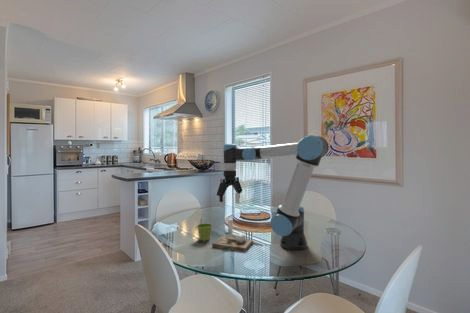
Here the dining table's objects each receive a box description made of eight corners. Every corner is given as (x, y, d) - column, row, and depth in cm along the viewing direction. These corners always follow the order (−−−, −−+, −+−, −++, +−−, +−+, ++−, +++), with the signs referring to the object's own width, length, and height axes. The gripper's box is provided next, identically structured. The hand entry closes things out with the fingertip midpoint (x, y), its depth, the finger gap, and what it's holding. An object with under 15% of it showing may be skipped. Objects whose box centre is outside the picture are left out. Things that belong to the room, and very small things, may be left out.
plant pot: (198, 242, 161) (197, 228, 160) (196, 237, 170) (195, 224, 169) (213, 241, 163) (213, 227, 163) (210, 236, 172) (210, 222, 172)
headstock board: (253, 243, 159) (253, 239, 159) (244, 253, 145) (244, 248, 144) (222, 239, 166) (222, 235, 166) (210, 248, 152) (210, 244, 152)
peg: (247, 240, 157) (247, 221, 157) (241, 243, 153) (241, 224, 152) (228, 235, 167) (228, 217, 166) (222, 237, 162) (222, 219, 162)
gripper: (238, 168, 172) (238, 201, 173) (210, 171, 153) (210, 208, 154) (247, 168, 167) (247, 202, 168) (219, 171, 149) (220, 210, 149)
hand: (230, 205), depth 161 cm, fingers open, 13 cm apart
